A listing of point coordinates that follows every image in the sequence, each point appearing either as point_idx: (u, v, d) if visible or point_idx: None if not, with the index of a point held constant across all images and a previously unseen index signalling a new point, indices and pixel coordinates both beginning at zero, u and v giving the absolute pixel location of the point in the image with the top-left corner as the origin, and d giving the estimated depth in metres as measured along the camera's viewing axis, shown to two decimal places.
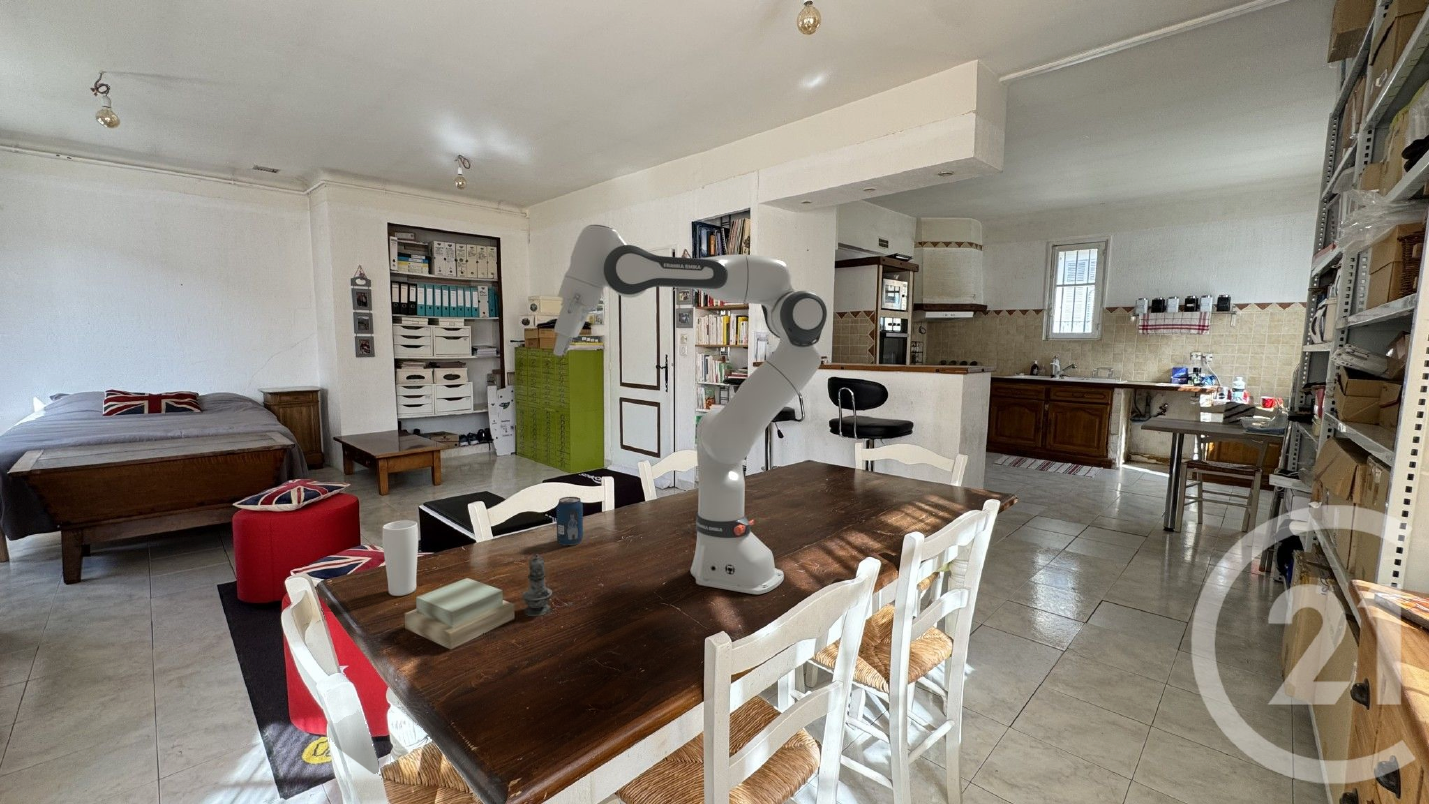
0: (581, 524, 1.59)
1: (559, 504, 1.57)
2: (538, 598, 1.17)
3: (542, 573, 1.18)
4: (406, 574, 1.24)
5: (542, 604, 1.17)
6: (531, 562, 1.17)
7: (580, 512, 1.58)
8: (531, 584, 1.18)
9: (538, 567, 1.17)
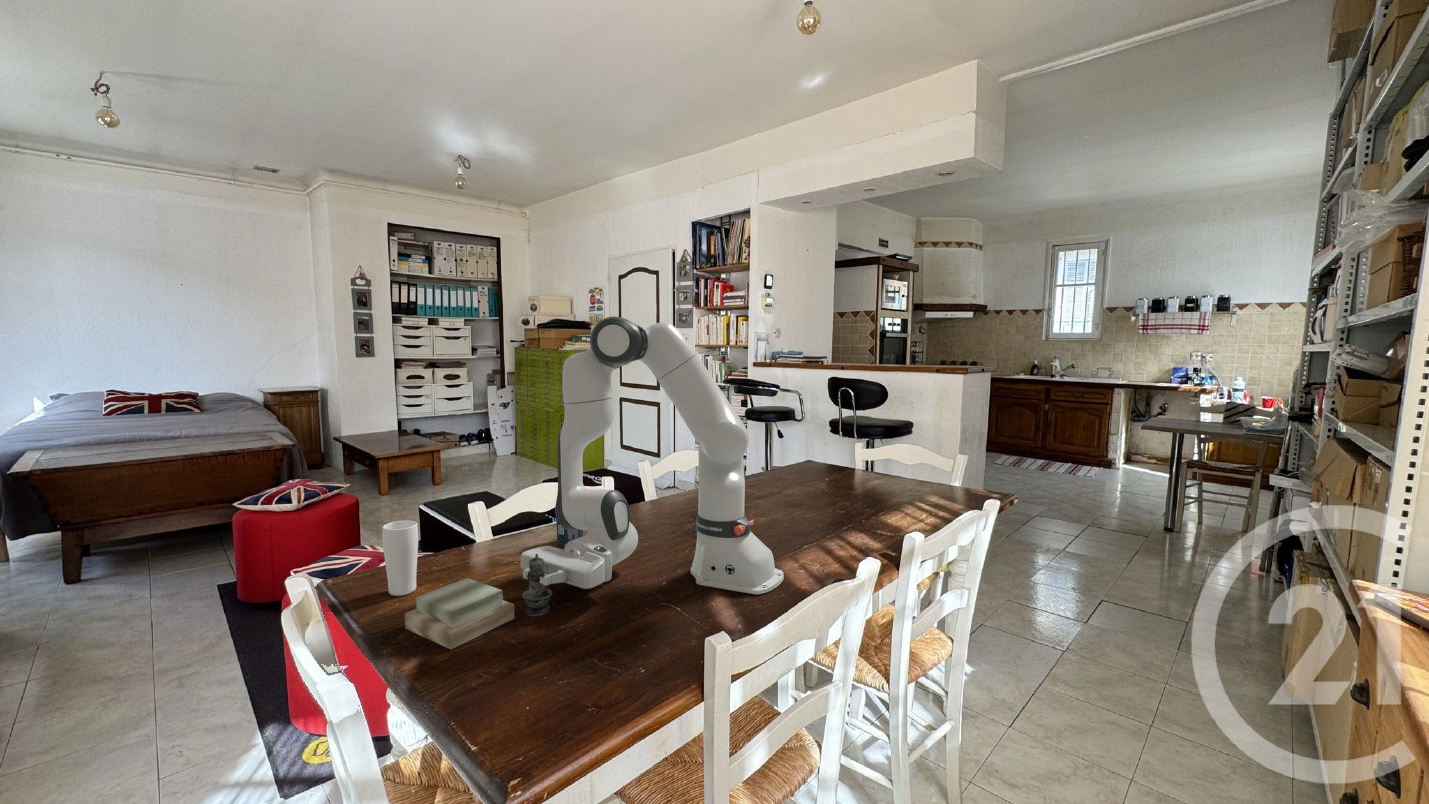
0: None
1: None
2: (538, 598, 1.17)
3: (542, 573, 1.18)
4: (406, 574, 1.24)
5: (542, 604, 1.17)
6: (531, 562, 1.17)
7: None
8: (531, 584, 1.18)
9: (537, 567, 1.17)
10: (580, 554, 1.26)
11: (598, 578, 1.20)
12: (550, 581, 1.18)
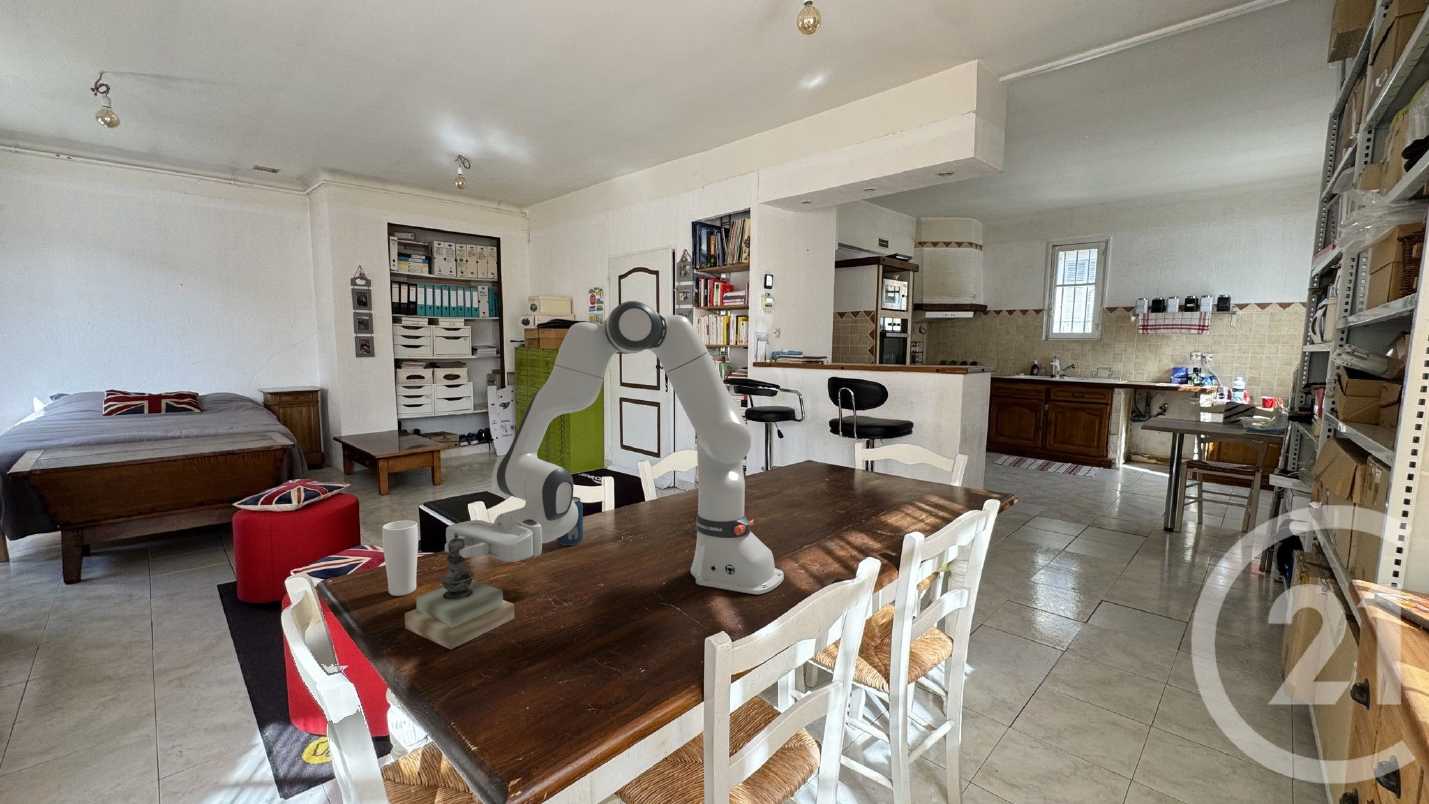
0: (581, 524, 1.59)
1: None
2: (457, 581, 1.10)
3: None
4: (406, 574, 1.24)
5: (462, 587, 1.11)
6: (450, 542, 1.10)
7: (580, 512, 1.58)
8: (450, 566, 1.11)
9: (457, 548, 1.10)
10: (508, 527, 1.19)
11: (524, 551, 1.13)
12: (470, 553, 1.11)
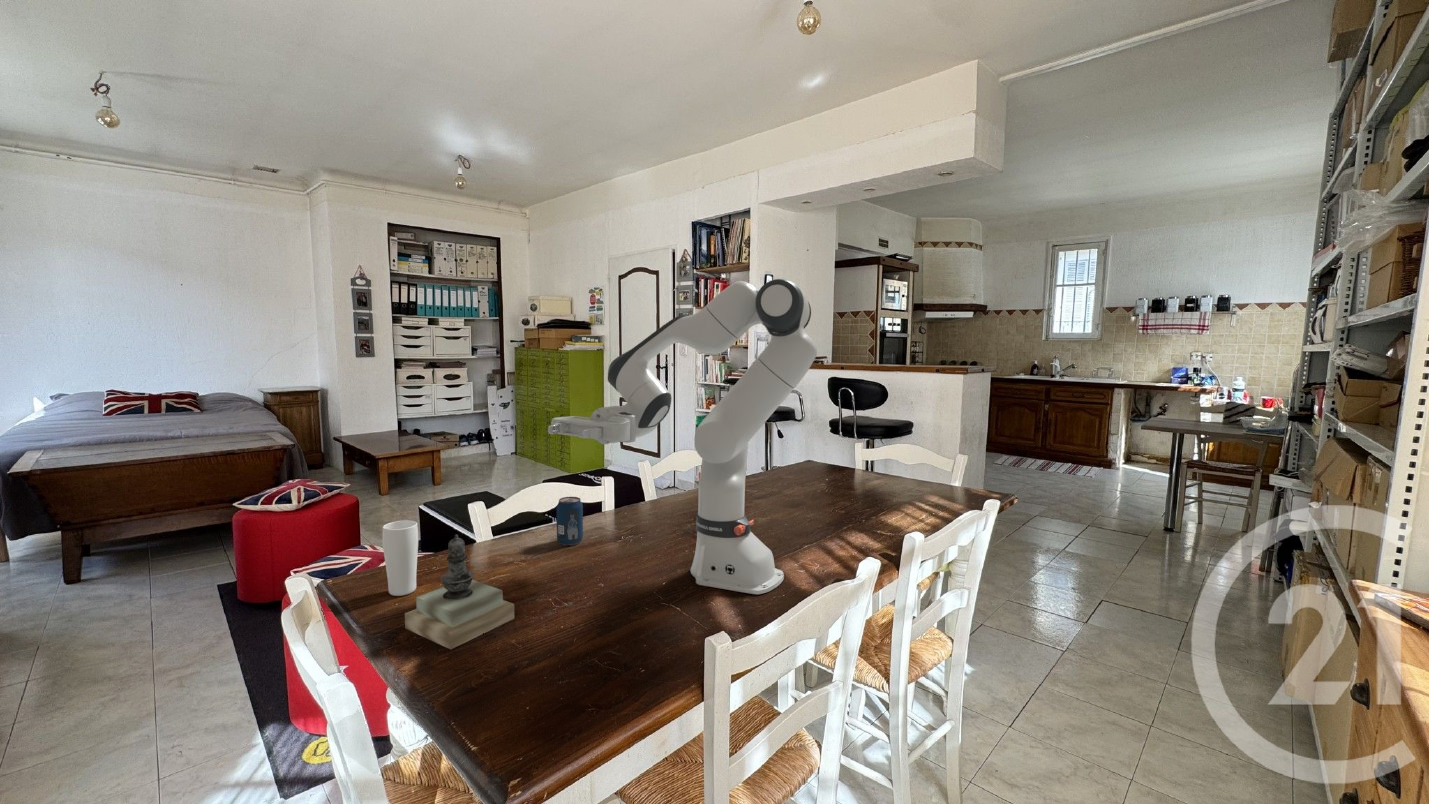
0: (581, 524, 1.59)
1: (559, 504, 1.57)
2: (457, 581, 1.10)
3: (462, 555, 1.11)
4: (406, 574, 1.24)
5: (462, 587, 1.11)
6: (450, 542, 1.10)
7: (580, 512, 1.58)
8: (450, 566, 1.11)
9: (457, 548, 1.10)
10: (606, 418, 1.36)
11: (624, 434, 1.30)
12: (588, 435, 1.27)
